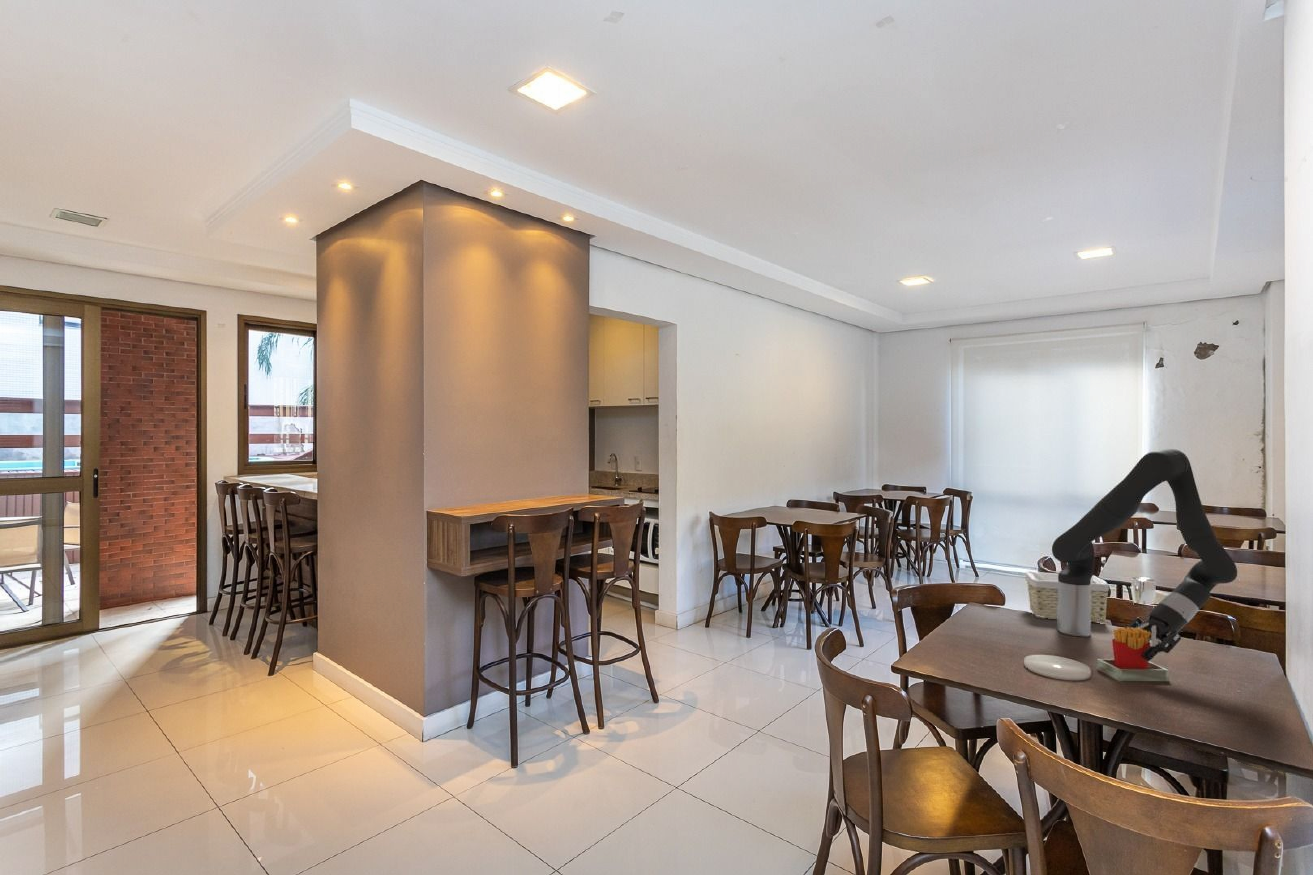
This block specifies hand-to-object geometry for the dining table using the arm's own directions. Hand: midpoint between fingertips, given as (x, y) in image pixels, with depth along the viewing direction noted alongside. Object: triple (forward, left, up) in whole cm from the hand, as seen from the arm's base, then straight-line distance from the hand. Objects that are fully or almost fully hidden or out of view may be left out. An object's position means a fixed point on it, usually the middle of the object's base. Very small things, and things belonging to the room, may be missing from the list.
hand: (1132, 653), depth 173 cm
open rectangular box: (0, 0, -6) cm, 6 cm away
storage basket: (-58, +19, -7) cm, 61 cm away
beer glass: (-53, +44, -6) cm, 69 cm away
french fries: (0, 0, -6) cm, 6 cm away
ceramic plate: (-4, -19, -6) cm, 20 cm away
